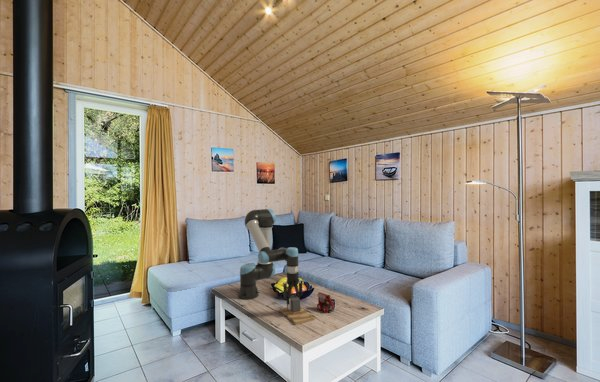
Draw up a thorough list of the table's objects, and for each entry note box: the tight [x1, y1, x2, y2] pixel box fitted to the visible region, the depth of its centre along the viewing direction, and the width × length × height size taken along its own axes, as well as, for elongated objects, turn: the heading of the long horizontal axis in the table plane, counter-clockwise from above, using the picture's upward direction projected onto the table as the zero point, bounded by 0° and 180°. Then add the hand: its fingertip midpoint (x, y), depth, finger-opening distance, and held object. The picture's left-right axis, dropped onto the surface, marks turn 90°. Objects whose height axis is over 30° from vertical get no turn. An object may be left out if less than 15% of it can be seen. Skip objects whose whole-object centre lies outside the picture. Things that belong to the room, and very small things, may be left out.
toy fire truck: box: [316, 291, 335, 313], centre depth 190 cm, size 7×12×10 cm, turn 43°
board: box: [280, 306, 316, 326], centre depth 183 cm, size 22×13×2 cm, turn 28°
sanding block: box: [286, 294, 301, 314], centre depth 187 cm, size 9×5×8 cm, turn 28°
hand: (293, 308), depth 187 cm, fingers closed on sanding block, 5 cm apart
